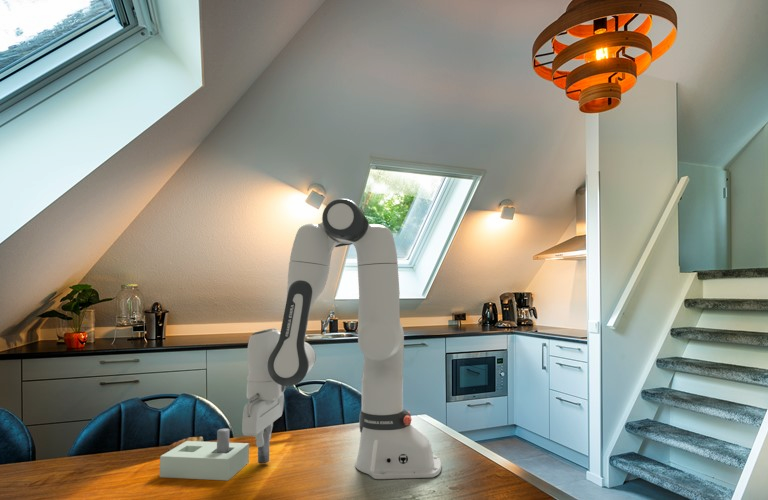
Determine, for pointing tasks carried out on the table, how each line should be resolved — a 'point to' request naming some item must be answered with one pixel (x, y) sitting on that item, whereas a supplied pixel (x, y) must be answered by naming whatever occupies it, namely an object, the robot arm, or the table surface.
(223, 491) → the table surface
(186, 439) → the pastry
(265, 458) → the peg
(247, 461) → the hole block
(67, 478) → the table surface
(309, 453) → the table surface
